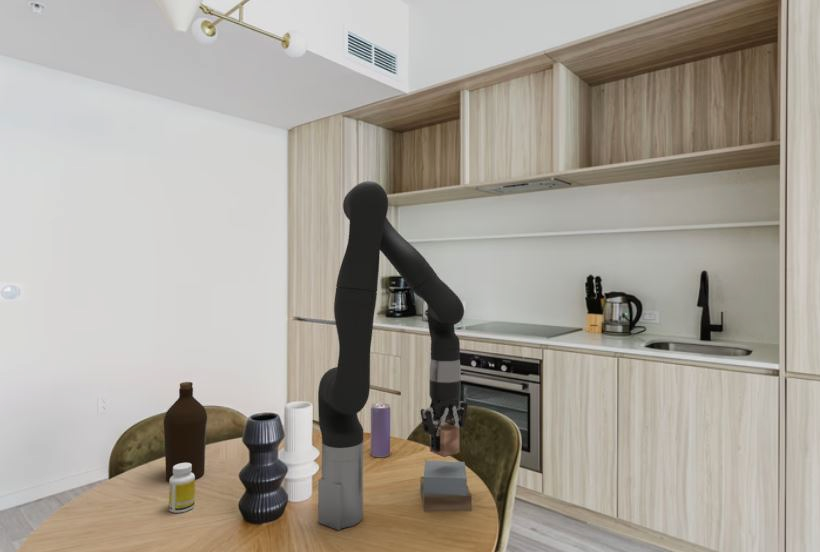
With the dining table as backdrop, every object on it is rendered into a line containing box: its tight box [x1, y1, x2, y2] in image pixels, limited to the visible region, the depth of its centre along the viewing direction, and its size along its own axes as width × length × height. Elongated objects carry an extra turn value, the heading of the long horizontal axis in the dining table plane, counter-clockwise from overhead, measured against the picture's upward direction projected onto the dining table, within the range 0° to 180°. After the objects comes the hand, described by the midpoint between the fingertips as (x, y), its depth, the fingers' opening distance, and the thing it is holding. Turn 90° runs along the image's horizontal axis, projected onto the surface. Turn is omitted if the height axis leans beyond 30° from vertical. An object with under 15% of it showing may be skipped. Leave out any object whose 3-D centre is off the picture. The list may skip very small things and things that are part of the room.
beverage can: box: [370, 402, 391, 459], centre depth 147 cm, size 6×6×15 cm
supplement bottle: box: [168, 463, 196, 514], centre depth 112 cm, size 5×5×10 cm
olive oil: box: [163, 381, 208, 482], centre depth 130 cm, size 11×11×25 cm
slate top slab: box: [423, 460, 468, 496], centre depth 117 cm, size 10×10×4 cm
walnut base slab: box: [419, 476, 473, 513], centre depth 117 cm, size 11×11×4 cm
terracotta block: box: [429, 422, 460, 458], centre depth 116 cm, size 5×5×6 cm
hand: (444, 447), depth 116 cm, fingers closed on terracotta block, 5 cm apart
